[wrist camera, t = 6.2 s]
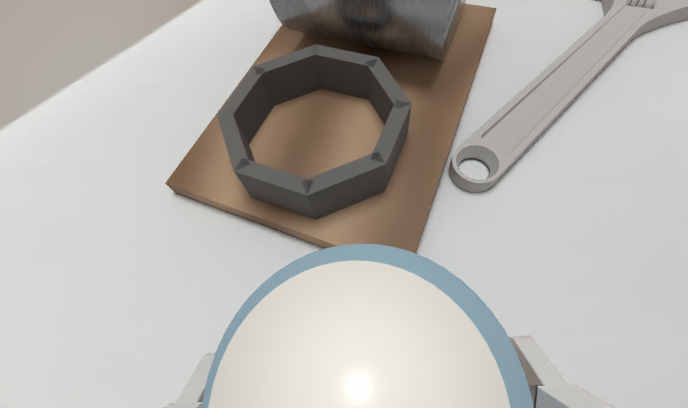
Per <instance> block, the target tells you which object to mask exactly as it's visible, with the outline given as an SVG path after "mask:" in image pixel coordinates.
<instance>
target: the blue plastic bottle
mask: <svg viewBox="0 0 688 408" xmlns="http://www.w3.org/2000/svg"><path fill="white" fill-rule="evenodd" d="M202 408H533V402H532V397H531V393H530V390H529V386H528V383H527V379H526V376H525V373H524V370H523V368H522V365H521V363H520V360H519V358H518V355H517V353H516V351H515V349H514V347H513V345H512V343H511V341H510V339H509V338H508V336H507V334H506V332H505V330H504V329H503V327H502V326H501V324H500V323H499V321H498V320H497V319H496V317H495V316H494V314H493V313H492V311H491V310H490V309H489V308H488V307H487V306H486V304H485V303H484V302H483V301H482V300H481V299H480V297H479V296H478V295H477V294H476V293H475V292H474V291H473V290H471V289H470V288H469V287H468V286H467V285H466V284H465V283H464V282H463V281H462V280H460V279H459V278H458V277H456V276H455V275H453V274H452V273H451V272H449V271H448V270H447V269H445V268H443V267H442V266H440V265H438V264H436V263H435V262H433V261H431V260H429V259H427V258H425V257H422V256H420V255H418V254H415V253H413V252H410V251H407V250H403V249H400V248H396V247H392V246H385V245H379V244H348V245H339V246H335V247H330V248H326V249H322V250H319V251H316V252H313V253H311V254H308V255H306V256H304V257H302V258H300V259H297V260H295V261H293V262H291V263H290V264H288V265H287V266H285V267H284V268H282V269H281V270H279V271H277V272H276V273H275V274H274V275H272V276H271V277H270V278H269V279H268V280H266V281H265V282H264V283H263V284H261V286H260V287H259V288H258V289H257V290H256V291H255V292H254V293H253V294H252V295H251V296H250V297H249V298H248V299H247V301H246V302H245V303H244V304H243V306H242V307H241V308H240V310H239V311H238V312H237V314H236V315H235V317H234V318H233V320H232V322H231V323H230V325H229V327H228V328H227V330H226V332H225V333H224V336H223V338H222V340H221V342H220V344H219V346H218V349H217V351H216V353H215V356H214V359H213V362H212V365H211V368H210V371H209V374H208V378H207V382H206V387H205V391H204V396H203V403H202Z"/></svg>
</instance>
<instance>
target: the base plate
mask: <svg viewBox="0 0 688 408" xmlns="http://www.w3.org/2000/svg"><path fill="white" fill-rule="evenodd" d="M495 11H496V8H490V7H484V6H477V5H471V4H465V6H464V9H463V12H462V15H461V18H460V21H459V24H458V27H457V30H456V33H455V36H454V39H453V41H452V44H451V46H450V49H449V51H448V53H447V55H446V57H445V59H444V60H438V59H433V58H428V57H423V56H418V55H413V54H408V53H403V52H398V51H393V50H388V49H383V48H378V47H372V46H367V45H362V44H357V43H352V42H347V41H342V40H337V39H332V38H327V37H322V36H317V35H312V34H307V33H302V32H297V31H293V30H290V29H288V28H286V27H285V26H284V25H282V26H281V27H280V29H279V30H278V31H277V33H276V34H275V35H274V37H273V38H272V40H271V41H270V42H269V44H268V45H267V46H266V48H265V49H264V50H263V52H262V53H261V54H260V56H259V57H258V58H257V60H256V61H255V63H254V64H253V65H252V67H253V66H255V65H258V64H261V63H264V62H266V61H269V60H272V59H275V58H278V57H281V56H284V55H287V54H290V53H292V52H295V51H298V50H301V49H304V48H307V47H310V46H313V45H315V44H317V45H322V46H326V47H331V48H336V49H341V50H346V51H351V52H356V53H361V54H365V55H370V56H375V57H379V58H380V60H381V61H382V63H383V64H384V65H385V67H386V68H387V70H388V71H389V72H390V74H391V75H392V77H393V78H394V79H395V81H396V82H397V84H398V85H399V86H400V88H401V89H402V91H403V92H404V93H405V95H406V96H407V98H408V99H409V100H410V102H411V103H412V105H411V113H410V120H409V128H408V136H407V139H406V141H405V143H404V146H403V148H402V151H401V153H400V156H399V158H398V161H397V163H396V166H395V168H394V170H393V173H392V175H391V178H390V180H389V183H388V185H387V188H386V190H385V192H383V193H380V194H378V195H375V196H373V197H371V198H368V199H366V200H363V201H361V202H358V203H356V204H353V205H351V206H349V207H346V208H344V209H341V210H339V211H336V212H334V213H331V214H329V215H327V216H324V217H322V218H319V219H317V220H315V219H312V218H309V217H307V216H304V215H301V214H298V213H295V212H292V211H289V210H287V209H284V208H281V207H278V206H275V205H272V204H269V203H266V202H264V201H261V200H258V199H255V198H252V197H251V196H250V194H249V193H248V192H247V190H246V189H245V187H244V186H243V184H242V183H241V181H240V180H239V178H238V177H237V175H236V174H235V172H234V171H233V167H232V164H231V161H230V157H229V154H228V151H227V148H226V144H225V141H224V138H223V134H222V131H221V128H220V124H219V121H218V118H217V114H218V113H219V112H220V110H221V109H222V108H223V106H224V105H225V103H226V102H227V101H228V99H229V98H230V97H231V95H232V94H233V93H234V91H235V90H236V89H237V87H238V86H239V84H240V83H241V82H242V80H243V79H244V78H245V76H246V75H247V74H248V72H249V71H250V69H251V68H252V67H251V68H250V69H249V71H248V72H247V73H246V75H245V76H244V77H243V79H242V80H241V82H240V83H239V84H238V86H237V87H236V88H235V90H234V91H233V92H232V94H231V95H230V96H229V98H228V99H227V101H226V102H225V103H224V105H223V106H222V107H221V109H220V110H219V111H218V113H217V114H216V115H215V117H214V118H213V119H212V121H211V122H210V124H209V125H208V126H207V128H206V129H205V130H204V132H203V133H202V134H201V136H200V137H199V138H198V140H197V141H196V143H195V144H194V145H193V147H192V148H191V149H190V151H189V152H188V153H187V155H186V156H185V157H184V159H183V160H182V162H181V163H180V164H179V166H178V167H177V168H176V170H175V171H174V172H173V174H172V175H171V176H170V178H169V179H168V180H167V182H166V184H167V185H168V186H169V187H170V188H171V189H172V190H173V191H174V192H176V193H178V194H181V195H184V196H186V197H189V198H192V199H195V200H197V201H200V202H203V203H205V204H208V205H211V206H214V207H216V208H219V209H222V210H224V211H227V212H230V213H232V214H235V215H238V216H241V217H243V218H246V219H249V220H251V221H254V222H257V223H260V224H262V225H265V226H268V227H270V228H273V229H276V230H279V231H281V232H284V233H287V234H289V235H292V236H295V237H298V238H300V239H303V240H306V241H308V242H311V243H314V244H317V245H319V246H322V247H325V248H330V247H335V246H339V245H348V244H379V245H385V246H392V247H396V248H400V249H403V250H407V251H410V252H413V253H415V252H416V249H417V246H418V243H419V240H420V237H421V234H422V231H423V228H424V225H425V222H426V219H427V216H428V213H429V210H430V207H431V204H432V201H433V198H434V195H435V192H436V189H437V186H438V183H439V180H440V177H441V174H442V171H443V168H444V165H445V162H446V159H447V156H448V153H449V150H450V147H451V144H452V141H453V138H454V135H455V132H456V129H457V126H458V123H459V120H460V117H461V114H462V111H463V108H464V105H465V102H466V99H467V96H468V93H469V90H470V87H471V84H472V81H473V78H474V75H475V72H476V69H477V66H478V63H479V60H480V57H481V54H482V51H483V48H484V45H485V42H486V39H487V36H488V33H489V30H490V27H491V24H492V21H493V18H494V15H495ZM384 126H385V125H384V123H383V122H382V120H381V119H380V117H379V116H378V114H377V112H376V111H375V109H374V108H373V106H372V104H371V103H370V101H369V100H367V99H363V98H359V97H354V96H350V95H346V94H342V93H338V92H334V91H329V90H325V89H319V90H317V91H314V92H311V93H308V94H306V95H303V96H300V97H297V98H295V99H292V100H289V101H286V102H283V103H281V104H278V105H275V106H274V107H273V109H272V110H271V112H270V113H269V115H268V116H267V118H266V119H265V121H264V123H263V124H262V126H261V127H260V129H259V130H258V132H257V133H256V135H255V136H254V138H253V139H252V141H251V143H250V144H249V145H250V148H251V151H252V154H253V157H254V160H255V162H257V163H260V164H263V165H266V166H270V167H273V168H276V169H279V170H282V171H285V172H289V173H292V174H295V175H298V176H301V177H304V178H307V179H308V178H311V177H313V176H316V175H319V174H321V173H324V172H326V171H329V170H331V169H334V168H336V167H339V166H341V165H344V164H347V163H349V162H352V161H354V160H357V159H359V158H362V157H364V156H367V155H369V154H372V152H373V150H374V148H375V146H376V143H377V141H378V139H379V137H380V135H381V132H382V130H383V128H384Z"/></svg>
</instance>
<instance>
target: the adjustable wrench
mask: <svg viewBox="0 0 688 408" xmlns="http://www.w3.org/2000/svg"><path fill="white" fill-rule="evenodd" d="M600 1H601V3H602V7H603V11H604V17H603V18H602V19H601V20H599V21H598V22H597V23H596V24H595V25H594V26H593V27H592V28H591V29H589V30H588V31H587V32H586V33H585V34H584V35H583V36H582V37H581V38H579V39H578V40H577V41H576V42H575V43H574V44H573V45H572V46H571V47H569V48H568V49H567V50H566V51H565V52H564V53H563V54H562V55H561V56H559V57H558V58H557V59H556V60H555V61H554V62H553V63H552V64H551V65H549V66H548V67H547V68H546V69H545V70H544V71H543V72H542V73H541V74H539V75H538V76H537V77H536V78H535V79H534V80H533V81H532V82H531V83H529V84H528V85H527V86H526V87H525V88H524V89H523V90H522V91H521V92H519V93H518V94H517V95H516V96H515V97H514V98H513V99H512V100H511V101H509V102H508V103H507V104H506V105H505V106H504V107H503V108H502V109H501V110H499V111H498V112H497V113H496V114H495V115H494V116H493V117H492V118H491V119H489V120H488V121H487V122H486V123H485V124H484V125H483V126H482V127H481V128H479V129H478V130H477V131H476V132H475V133H474V134H473V135H472V136H471V137H469V138H468V139H467V140H466V141H465V142H464V143H463V144H462V145H461V146H459V147H458V148H457V149H456V151H455V152H454V154H453V157H452V159H451V162H450V166H449V176H450V178H451V179H452V181H453V182H454V183H455V184H456V185H457V186H458V187H459V188H461V189H463V190H465V191H470V192H482V191H485V190H488V189H489V188H491V187H492V186H493V185H494V184H495V183H496V182H497V181H498V180H499V179H500V178H501V177H502V176H503V175H504V174H505V173H506V172H507V171H508V170H509V168H510V167H511V166H512V165H513V164H514V163H515V162H516V161H517V160H518V159H519V158H520V157H521V156H522V155H523V154H524V153H525V152H526V150H527V149H528V148H529V147H530V146H531V145H532V144H533V143H534V142H535V141H536V140H537V139H538V138H539V137H540V136H541V135H542V134H543V133H544V131H545V130H546V129H547V128H548V127H549V126H550V125H551V124H552V123H553V122H554V121H555V120H556V119H557V118H558V117H559V116H560V115H561V113H562V112H563V111H564V110H565V109H566V108H567V107H568V106H569V105H570V104H571V103H572V102H573V101H574V100H575V99H576V98H577V97H578V96H579V94H580V93H581V92H582V91H583V90H584V89H585V88H586V87H587V86H588V85H589V84H590V83H591V82H592V81H593V80H594V79H595V78H596V76H597V75H598V74H599V73H600V72H601V71H602V70H603V69H604V68H605V67H606V66H607V65H608V64H609V63H610V62H611V61H612V60H613V59H614V57H615V56H616V55H617V54H618V53H619V52H620V51H621V50H622V49H623V48H624V47H625V46H626V45H627V44H628V43H629V42H630V41H631V40H633V39H634V38H635V37H637V36H639V35H641V34H643V33H646V32H648V31H651V30H654V29H656V28H659V27H662V26H665V25H668V24H672V23H676V22H679V21H683V20H687V19H688V0H600ZM467 158H475V159H479V160H481V161H483V162H484V163H485V164H486V165H487V166H488V167H489V169H490V173H489V176H488V177H487V178H486V179H485V180H476V179H471V178H469V177H467V176H465V175H464V174H463V173H461V172H460V171H459V169H458V167H459V164H460V162H461V161H462V160H463V159H467Z"/></svg>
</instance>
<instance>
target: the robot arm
mask: <svg viewBox="0 0 688 408" xmlns="http://www.w3.org/2000/svg"><path fill="white" fill-rule="evenodd" d="M509 339H510V341H511V343H512V345H513V347H514V349H515V351H516V353H517V355H518V358H519V360H520V363H521V365H522V368H523V370H524V373H525V376H526V379H527V383H528V386H529V390H530V393H531V397H532V402H533V408H615V407H613V406H611V405H610V404H608V403H606V402H604V401H603V400H601V399H599V398H597V397H596V396H594V395H592V394H590V393H589V392H587V391H585V390H584V389H582V388H580V387H578V386H577V385H568V383H567V382H566V381H565V380H564V378H563V377H562V376H561V374H560V373H559V372H558V370H557V369H556V368H555V366H554V365H553V364H552V363H551V361H550V360H549V359H548V357H547V356H546V355H545V353H544V352H543V351H542V349H541V348H540V347H539V345H538V344H537V343H536V342H535V340H534V339H533V338H532V337H530V336H518V337H509ZM214 356H215V353H208V354H206V355H205V356H204V357H203V358H202V360H201V361H200V363H199V365H198V366H197V368H196V370H195V371H194V373H193V375H192V376H191V378H190V380H189V381H188V383H187V385H186V386H185V388H184V390H183V392H182V393H181V395H180V397H179V398H178V400H177V402H176V403H170V404H168V405H167V406H166V407H164V408H202V403H203V396H204V391H205V387H206V382H207V378H208V374H209V371H210V368H211V365H212V362H213V359H214Z"/></svg>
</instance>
